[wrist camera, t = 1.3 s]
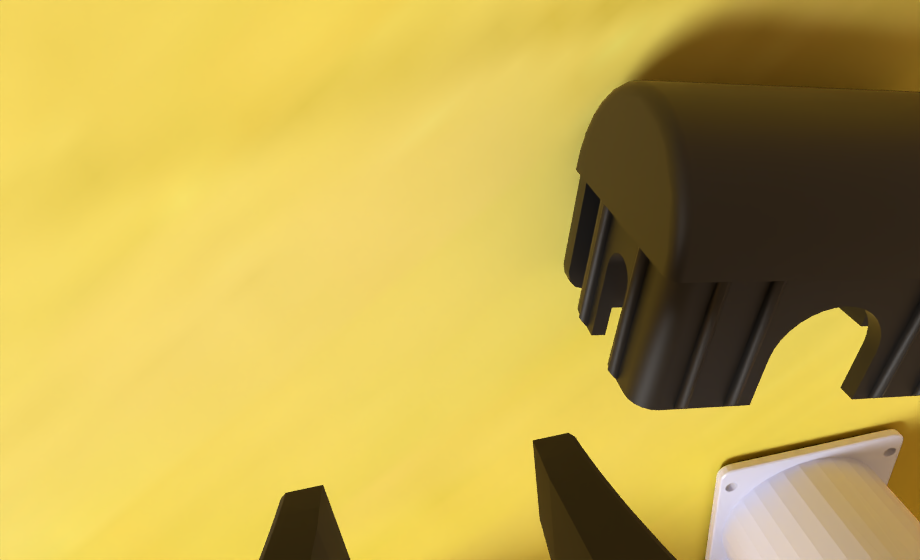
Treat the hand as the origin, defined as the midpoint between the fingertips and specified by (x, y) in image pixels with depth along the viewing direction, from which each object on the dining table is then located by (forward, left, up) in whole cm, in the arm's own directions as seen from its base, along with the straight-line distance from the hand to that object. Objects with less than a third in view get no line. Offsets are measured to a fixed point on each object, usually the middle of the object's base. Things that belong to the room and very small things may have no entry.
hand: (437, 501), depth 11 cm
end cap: (0, -10, -10) cm, 14 cm away
